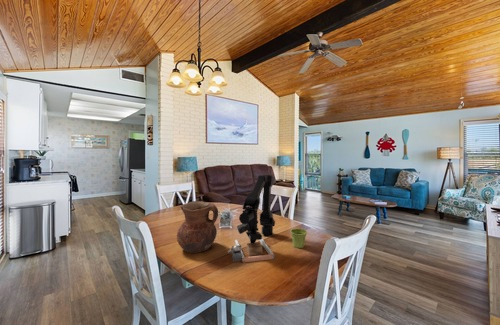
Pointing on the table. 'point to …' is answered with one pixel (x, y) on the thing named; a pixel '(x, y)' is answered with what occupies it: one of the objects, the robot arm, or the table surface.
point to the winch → (236, 253)
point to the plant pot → (298, 237)
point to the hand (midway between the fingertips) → (252, 246)
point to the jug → (197, 226)
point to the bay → (257, 258)
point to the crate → (254, 248)
